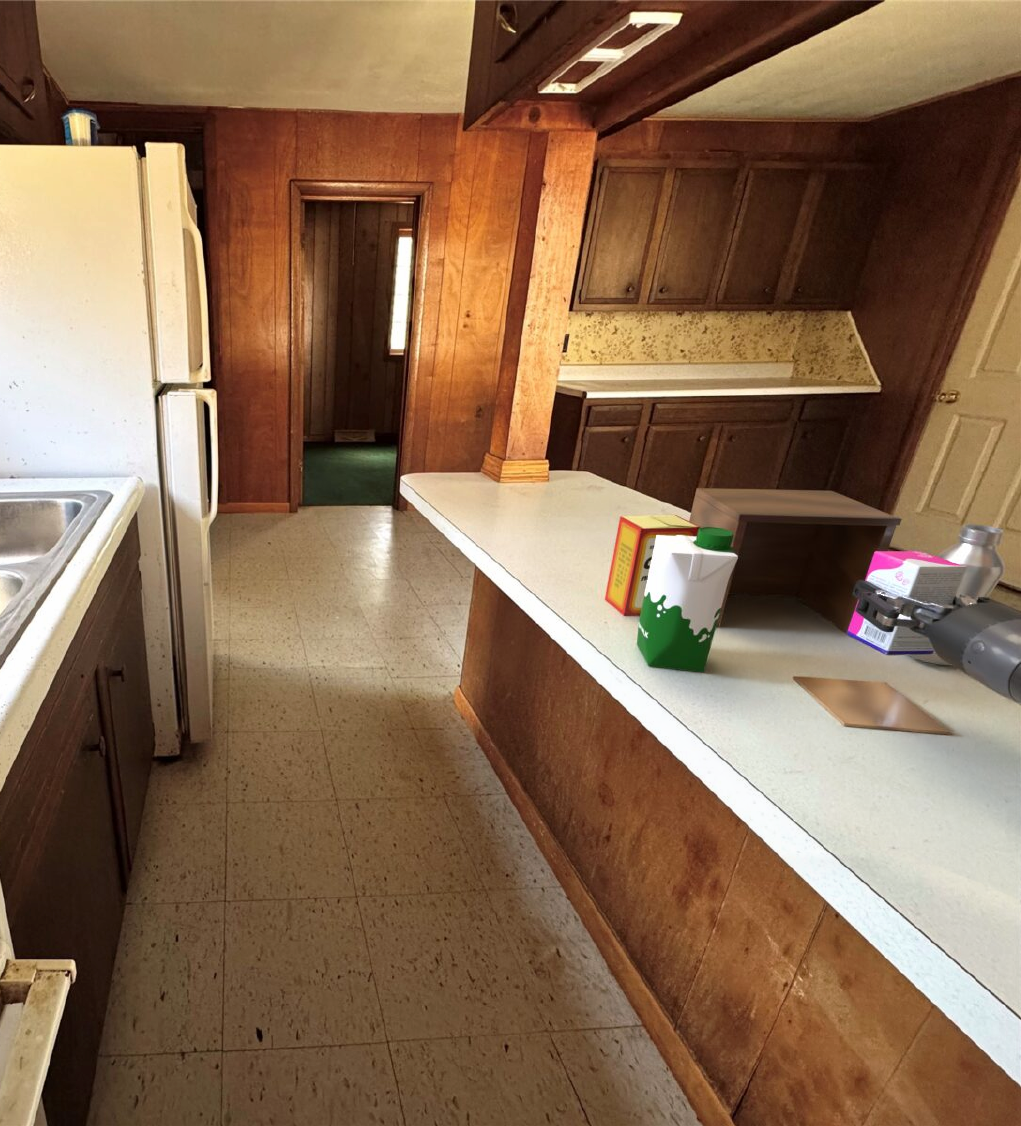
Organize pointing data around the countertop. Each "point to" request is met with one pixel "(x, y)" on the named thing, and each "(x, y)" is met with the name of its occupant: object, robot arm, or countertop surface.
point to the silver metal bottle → (974, 566)
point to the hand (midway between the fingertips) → (891, 588)
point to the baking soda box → (638, 557)
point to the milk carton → (684, 598)
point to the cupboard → (797, 544)
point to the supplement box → (907, 578)
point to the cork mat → (869, 705)
